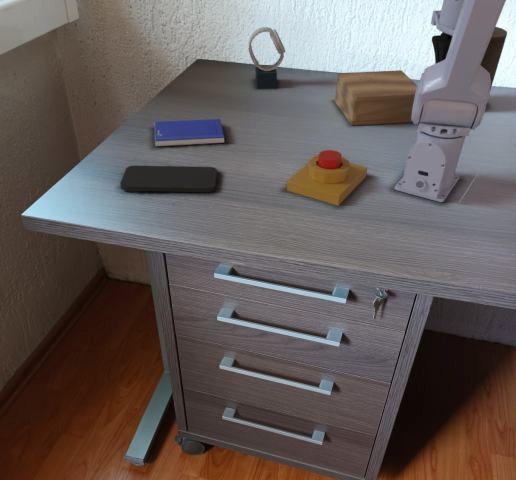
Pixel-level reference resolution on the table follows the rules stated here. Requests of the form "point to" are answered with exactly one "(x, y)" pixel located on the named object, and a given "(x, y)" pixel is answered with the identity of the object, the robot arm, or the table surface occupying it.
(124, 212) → the table surface
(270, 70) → the watch
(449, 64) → the robot arm
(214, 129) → the blue hardcover book
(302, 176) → the button block
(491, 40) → the pillar candle
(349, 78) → the lid
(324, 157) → the button
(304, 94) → the table surface
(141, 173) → the phone
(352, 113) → the chest
